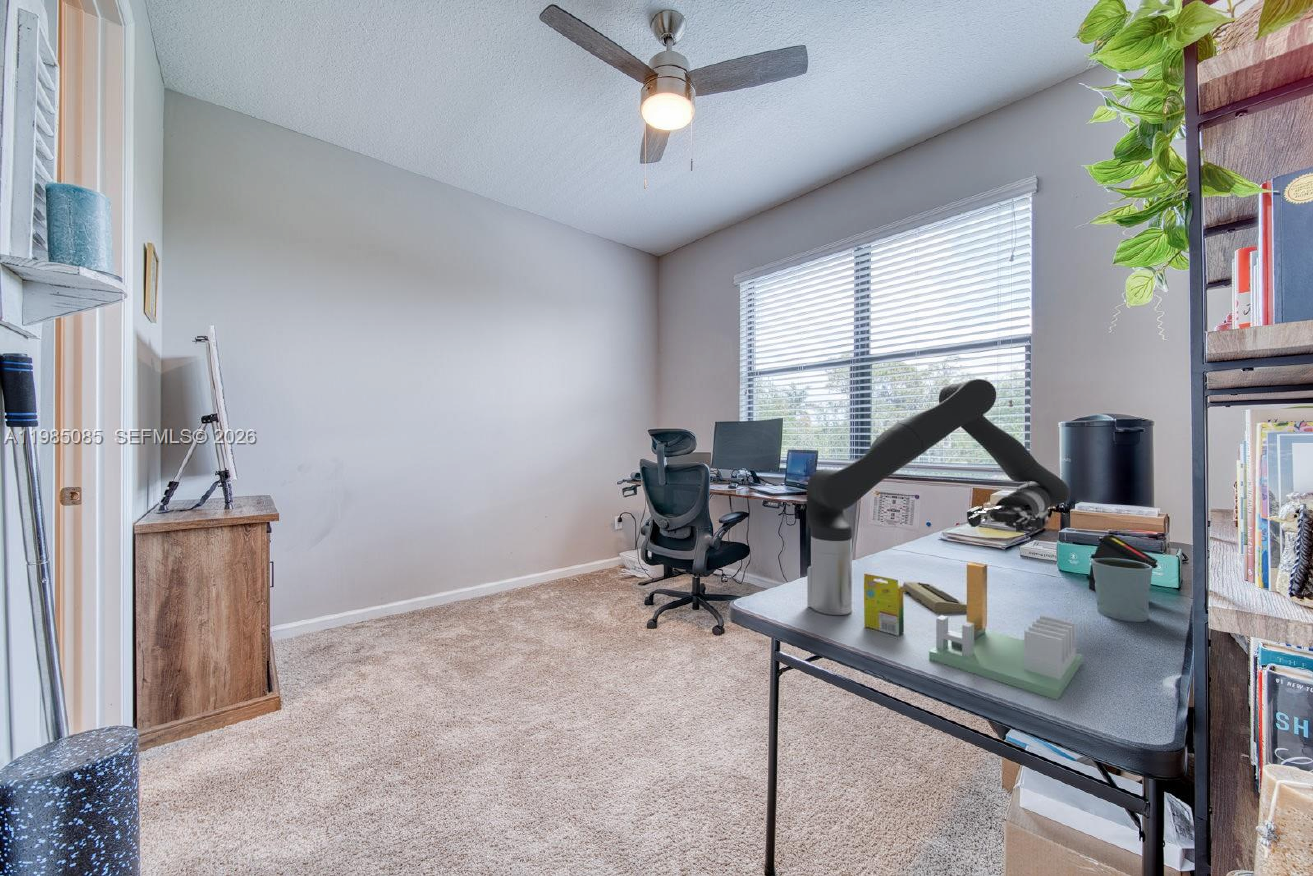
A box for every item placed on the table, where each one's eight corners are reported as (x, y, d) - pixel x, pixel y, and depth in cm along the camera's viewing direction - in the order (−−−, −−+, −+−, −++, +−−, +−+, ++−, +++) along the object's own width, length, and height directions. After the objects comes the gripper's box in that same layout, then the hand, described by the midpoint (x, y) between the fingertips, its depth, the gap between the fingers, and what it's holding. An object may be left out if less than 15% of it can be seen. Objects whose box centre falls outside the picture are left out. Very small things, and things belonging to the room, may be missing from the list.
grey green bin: (1165, 623, 110) (1165, 568, 110) (1119, 623, 110) (1120, 569, 110) (1121, 607, 120) (1122, 557, 120) (1080, 607, 120) (1080, 557, 120)
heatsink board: (929, 659, 94) (929, 616, 93) (965, 632, 106) (965, 594, 106) (1057, 700, 79) (1057, 649, 79) (1081, 663, 92) (1082, 619, 91)
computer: (969, 614, 117) (969, 600, 117) (934, 614, 117) (934, 600, 117) (932, 592, 133) (932, 580, 133) (902, 593, 133) (902, 580, 133)
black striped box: (1083, 578, 138) (1111, 533, 132) (1135, 613, 127) (1169, 566, 121) (1073, 579, 137) (1101, 534, 131) (1126, 615, 126) (1159, 567, 120)
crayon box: (904, 632, 106) (904, 577, 106) (898, 636, 104) (898, 580, 104) (869, 623, 111) (869, 570, 111) (863, 626, 109) (863, 573, 109)
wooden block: (949, 645, 96) (949, 572, 96) (971, 628, 104) (971, 561, 104) (966, 650, 94) (966, 575, 94) (987, 632, 102) (987, 564, 101)
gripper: (984, 490, 122) (956, 504, 112) (1057, 494, 111) (1033, 510, 101) (986, 520, 123) (959, 537, 113) (1059, 527, 112) (1035, 547, 102)
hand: (994, 524), depth 107 cm, fingers open, 8 cm apart
